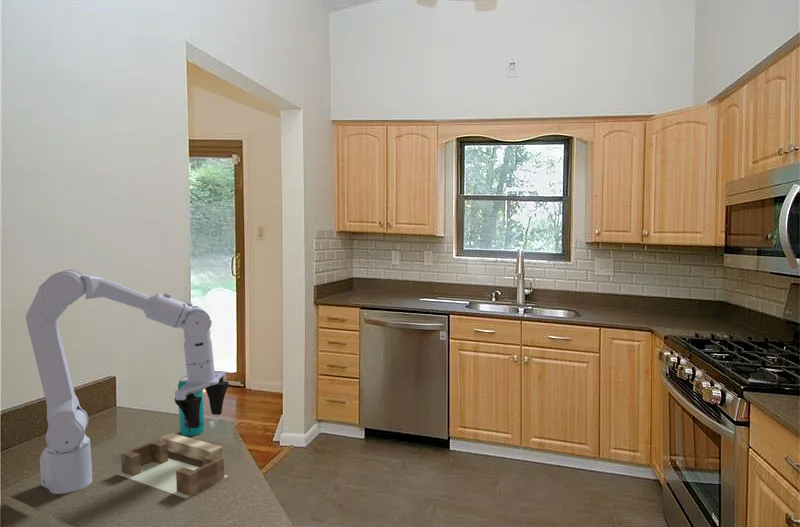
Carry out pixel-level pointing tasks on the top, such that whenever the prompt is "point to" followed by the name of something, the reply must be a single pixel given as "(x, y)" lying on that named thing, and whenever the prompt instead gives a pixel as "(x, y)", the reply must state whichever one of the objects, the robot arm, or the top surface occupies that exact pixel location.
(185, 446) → the slat
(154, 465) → the base board
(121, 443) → the top surface
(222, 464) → the right end cap
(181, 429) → the beverage can
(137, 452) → the left end cap
